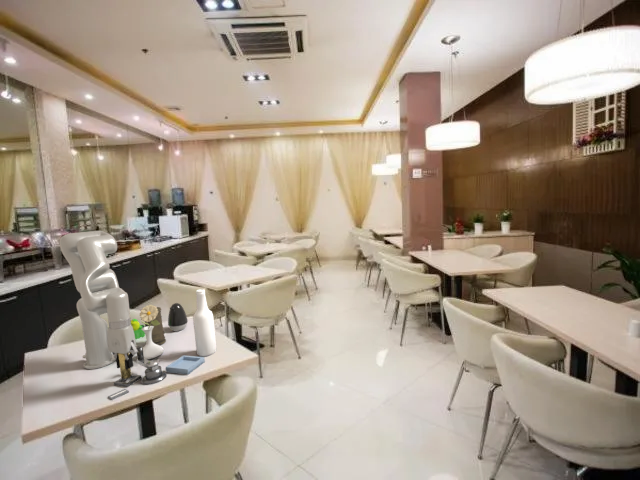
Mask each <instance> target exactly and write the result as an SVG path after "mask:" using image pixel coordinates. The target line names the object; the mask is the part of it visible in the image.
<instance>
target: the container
mask: <svg viewBox="0 0 640 480" xmlns="http://www.w3.org/2000/svg"><path fill="white" fill-rule="evenodd" d="M156 307H157V309H158V310H157V311H158V314H157V316H156V318H155V319H154V320H157V321H158V322H159V323H160V324H159V325H156V326H154V325H153V324H152V323H151V321H154V320H151V321H150V322H146V321H145V323H148V324H149V325H150V324H151V325H150V326H154V327H153V329H152V333H151V337H152V342H153V343H155V344H157V345H159V346H162V345H164V344H165V343H166V342H167V339H166V336H165V331H164V326H163V319H162V317H163V316H162V308H161V307H158V306H156ZM149 325H147V324H144V326H145V327H147V326H149Z"/></svg>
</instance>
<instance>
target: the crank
mask: <svg viewBox="0 0 640 480" xmlns="http://www.w3.org/2000/svg"><path fill="white" fill-rule="evenodd" d="M143 347H144V346H142V345H139V346H136V349H137V350H138V353H136V358H137V359H136V364H138V365H140V366H142V367H144V368H146V369H147V368H148V369H150V370H152V371H154V370H156V369H158V366H159V360H158V359H151V360H150V359H145V358H144V354H143Z"/></svg>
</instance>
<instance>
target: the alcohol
mask: <svg viewBox="0 0 640 480" xmlns="http://www.w3.org/2000/svg"><path fill="white" fill-rule="evenodd" d="M195 295H196V310H195V312H194V313H193V318H192V321H193V331H194V339H195V341H194V342H195V349H196V354H197V356H198V357H204V358H205V357H209V356H212V355H214V354H215V353H216V351H217V342H216V341H217V340H216V333H215V332H216V329H215V321H214V320H215V319H214V314H213V311H212V310H210V309H209V306H208V302H207V297H206V289H204V288H200V289H197V290H195Z"/></svg>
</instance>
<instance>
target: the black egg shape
mask: <svg viewBox="0 0 640 480" xmlns="http://www.w3.org/2000/svg"><path fill="white" fill-rule="evenodd" d="M168 311H169V312H168V317H167V326H168V328H169V329H170V330H171V331H174V332H181V331H182V330H184V329H185V328H186V327H187V325H188V321H189V320H188V317H187V313H186V311H185V309H184V307H183V305H182V304H181V303H178V302H176V303H175V302H174V303H173V304H172V305H171V306H170V307H169V310H168Z"/></svg>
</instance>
